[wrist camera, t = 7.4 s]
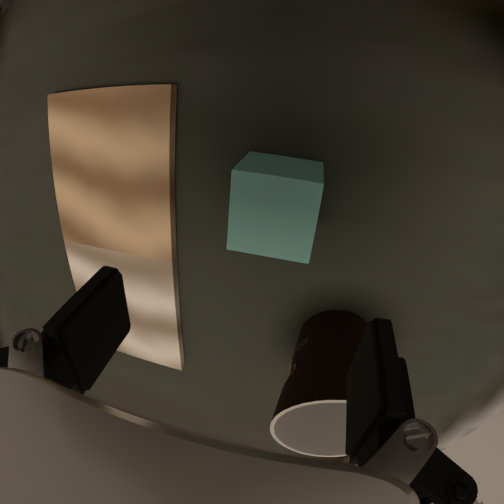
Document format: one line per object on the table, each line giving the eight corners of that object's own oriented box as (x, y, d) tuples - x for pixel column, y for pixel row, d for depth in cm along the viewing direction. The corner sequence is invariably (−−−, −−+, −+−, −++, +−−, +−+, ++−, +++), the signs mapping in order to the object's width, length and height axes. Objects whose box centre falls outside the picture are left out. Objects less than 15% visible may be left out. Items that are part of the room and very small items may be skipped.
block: (250, 151, 21) (231, 169, 17) (323, 162, 21) (324, 184, 17) (244, 216, 24) (226, 249, 20) (311, 228, 23) (308, 263, 19)
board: (55, 93, 21) (47, 94, 20) (177, 84, 20) (171, 84, 19) (95, 336, 36) (91, 341, 35) (184, 363, 34) (181, 370, 33)
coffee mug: (320, 283, 25) (313, 383, 17) (400, 325, 26) (417, 420, 17) (257, 362, 31) (234, 447, 23) (328, 392, 32) (320, 474, 23)
